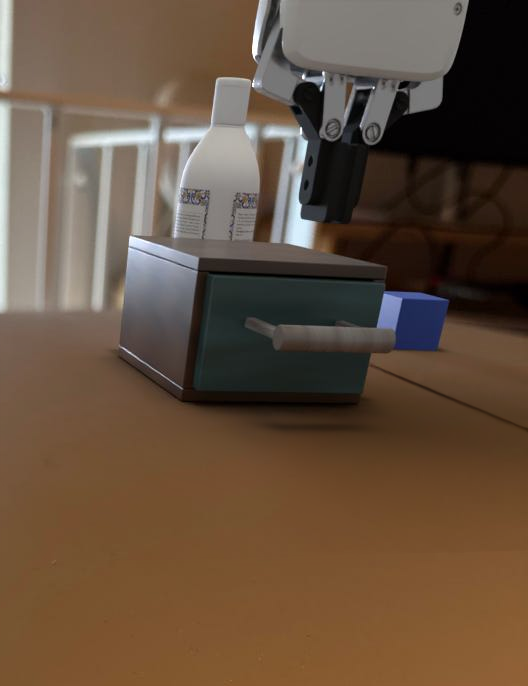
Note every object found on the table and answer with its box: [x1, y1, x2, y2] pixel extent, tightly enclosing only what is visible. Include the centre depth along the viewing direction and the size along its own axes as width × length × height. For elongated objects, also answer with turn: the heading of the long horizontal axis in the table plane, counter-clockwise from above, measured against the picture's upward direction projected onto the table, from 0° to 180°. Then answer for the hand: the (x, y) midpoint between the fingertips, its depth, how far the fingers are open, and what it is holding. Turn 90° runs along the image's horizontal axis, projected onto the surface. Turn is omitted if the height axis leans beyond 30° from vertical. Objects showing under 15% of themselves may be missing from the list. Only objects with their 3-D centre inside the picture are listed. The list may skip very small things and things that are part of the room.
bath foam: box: [173, 76, 261, 242], centre depth 85 cm, size 7×7×20 cm
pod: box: [377, 290, 450, 352], centre depth 85 cm, size 4×4×4 cm
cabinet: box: [117, 234, 388, 405], centre depth 67 cm, size 15×13×9 cm
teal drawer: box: [193, 272, 396, 395], centre depth 63 cm, size 19×11×7 cm, turn 12°
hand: (324, 220), depth 55 cm, fingers closed
